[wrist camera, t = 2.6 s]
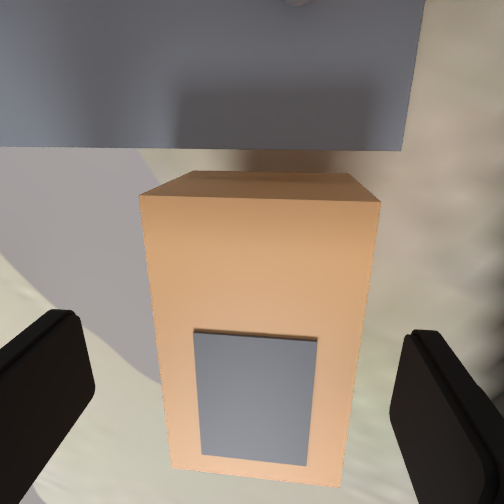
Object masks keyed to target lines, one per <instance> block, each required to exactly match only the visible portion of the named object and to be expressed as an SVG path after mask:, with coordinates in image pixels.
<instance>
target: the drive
mask: <svg viewBox="0 0 504 504" xmlns="http://www.w3.org/2000/svg"><path fill="white" fill-rule="evenodd" d="M139 202H140V210H141V218H142V226H143V235H144V242H145V251H146V260H147V268H148V275H149V284H150V293H151V301H152V310H153V318H154V325H155V334H156V343H157V351H158V359H159V368H160V376H161V384H162V393H163V401H164V409H165V417H166V426H167V434H168V442H169V451H170V459H171V467H172V468H176V469H185V470H193V471H202V472H210V473H218V474H227V475H235V476H244V477H252V478H260V479H269V480H277V481H286V482H294V483H302V484H311V485H319V486H328V487H336V488H340V481H341V474H342V467H343V461H344V454H345V447H346V440H347V433H348V426H349V420H350V413H351V406H352V399H353V392H354V385H355V378H356V372H357V365H358V358H359V351H360V344H361V337H362V331H363V324H364V317H365V310H366V303H367V296H368V290H369V283H370V276H371V269H372V262H373V255H374V249H375V242H376V235H377V228H378V221H379V214H380V208H381V201H380V200H378V199H377V198H376V197H375V196H374V195H373V194H371V193H370V192H369V191H368V190H367V189H366V188H365V187H363V186H362V185H361V184H360V183H359V182H358V181H356V180H355V179H354V178H353V177H352V176H351V175H350V174H347V173H294V172H241V171H192V172H189V173H187V174H185V175H183V176H180V177H178V178H176V179H174V180H172V181H169V182H167V183H165V184H163V185H161V186H158V187H156V188H154V189H152V190H149V191H147V192H145V193H143V194H141V195H139Z"/></svg>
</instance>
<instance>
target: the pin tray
mask: <svg viewBox="0 0 504 504" xmlns="http://www.w3.org/2000/svg"><path fill="white" fill-rule="evenodd" d="M424 4H425V0H0V146H5V147H6V146H7V147H91V148H93V147H94V148H178V149H264V150H350V151H401V149H402V143H403V136H404V130H405V124H406V117H407V111H408V105H409V99H410V92H411V86H412V80H413V73H414V67H415V61H416V55H417V48H418V42H419V36H420V29H421V23H422V17H423V11H424Z"/></svg>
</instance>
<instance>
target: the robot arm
mask: <svg viewBox="0 0 504 504" xmlns="http://www.w3.org/2000/svg"><path fill="white" fill-rule="evenodd" d="M94 392H95V383H94V378H93V374H92V369H91V365H90V360H89V356H88V351H87V347H86V342H85V338H84V334H83V329H82V325H81V320H80V318H79V317H78V316H77V315H75V313H74V312H73V311H72V310H60V309H51V310H49V311H47V312H46V313H45V314H44V315H42V316H41V317H40V318H39V319H37V320H36V321H35V322H34V323H32V324H31V325H30V326H29V327H27V328H26V329H25V330H24V331H22V332H21V333H20V334H19V335H17V336H16V337H15V338H14V339H12V340H11V341H10V342H9V343H7V344H6V345H5V346H4V347H2V348H1V349H0V504H19V502H20V501H21V499H22V498H23V497H24V495H25V494H26V492H27V491H28V490H29V488H30V487H31V485H32V484H33V482H34V481H35V480H36V478H37V477H38V475H39V474H40V472H41V471H42V470H43V468H44V467H45V465H46V464H47V462H48V461H49V460H50V458H51V457H52V455H53V454H54V452H55V451H56V449H57V448H58V447H59V445H60V444H61V442H62V441H63V439H64V438H65V437H66V435H67V434H68V432H69V431H70V429H71V428H72V427H73V425H74V424H75V422H76V421H77V419H78V418H79V417H80V415H81V414H82V412H83V411H84V409H85V408H86V407H87V405H88V404H89V402H90V401H91V399H92V398H93V395H94ZM389 414H390V421H391V424H392V427H393V430H394V433H395V436H396V439H397V442H398V445H399V448H400V450H401V453H402V456H403V459H404V462H405V465H406V468H407V471H408V473H409V476H410V479H411V482H412V485H413V488H414V491H415V494H416V497H417V499H418V502H419V504H504V418H503V417H502V415H501V414H500V413H499V411H498V410H497V409H496V407H495V406H494V404H493V403H492V402H491V400H490V399H489V398H488V396H487V395H486V394H485V392H484V391H483V390H482V389H481V388H480V387H479V386H478V385H477V384H476V383H475V381H474V380H473V378H472V377H471V376H470V374H469V373H468V371H467V370H466V369H465V367H464V366H463V365H462V363H461V362H460V360H459V359H458V358H457V356H456V355H455V354H454V352H453V351H452V349H451V348H450V347H449V345H448V344H447V342H446V341H445V340H444V338H443V337H442V336H441V334H440V333H439V332H438V331H434V330H416V329H415V330H413V331H412V333H411V335H409V334H407V335H406V336H405V338H404V342H403V347H402V351H401V356H400V361H399V366H398V371H397V375H396V380H395V385H394V390H393V394H392V399H391V404H390V410H389Z"/></svg>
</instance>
